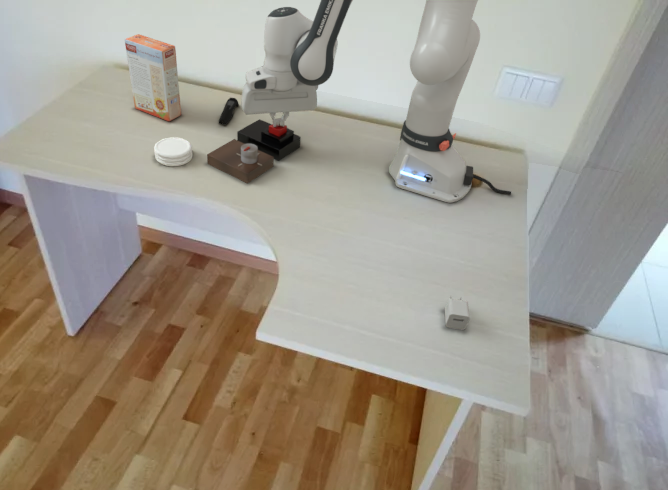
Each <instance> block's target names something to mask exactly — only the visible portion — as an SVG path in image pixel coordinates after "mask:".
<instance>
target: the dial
mask: <svg viewBox="0 0 668 490" xmlns="http://www.w3.org/2000/svg"><path fill="white" fill-rule="evenodd" d="M257 160H258V147H257V146H256V145H254V144H244V145H242V146H241V161H242V162H243V163H246V164H253V163H256V162H257Z"/></svg>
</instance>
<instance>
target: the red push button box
mask: <svg viewBox="0 0 668 490" xmlns="http://www.w3.org/2000/svg"><path fill="white" fill-rule="evenodd" d="M272 124H273V123H270V122H267V121H264V119H263V120H262V119H257V120H256V121H254V122H252V123H250V124H249V125H246V126H245V127H243V128H241V129H240V130H238V131H236V137H237V139H236V140H237V141H240V142H242V143H244V144H254V145H256V146H257V147H258V150H259V151H262V152H264V153H266V154H268V155H270V156H273V157H274V161H277V162H280V161H282V160H284V159H285V158H286V157H288V156H289V155H291V154H293V153H294V152H295V151H297V150H299V149H300V148H301V139H302V136H300V135H297V134H295V131H294V130H293V129H290V128H288V127H287V132H286V133H284V134H283V135H281V136H276V135H274V134H272V133H270V132H269V126H270V125H272Z"/></svg>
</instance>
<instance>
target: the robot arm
mask: <svg viewBox="0 0 668 490" xmlns="http://www.w3.org/2000/svg"><path fill="white" fill-rule="evenodd" d="M353 1H354V0H320V2H319V4H318V7H317V9H316V10H317V11H316V13H315V15H314V18H313V20H311V18H308V17H306V15H304V14H302V13H301V11H300V10H299V9H297V8H296V7H292V6H282V7H278V8H275V9H273V10H272V11H270V13H269V14H268V15H267V17H266V20H265V24H264V35H263V49H264V60H263V65H262V66H261V65H260V66H259V67H257V68H254V69H251V70H248V71H247V72H246V73H245V81H246V82H245V83H244V84H243V87H242V90H241V98H240V99H241V100H240V107H241V110H242V112H243V113H244V114H245V115H247V116H248V115H263V114H269V116H270V118H271V120H272V124H273V126H274V127H284V126H285V125H286V123H285V122H286V121H287V119H288V118H289V116H290V113H294V112H297V113H298V112H309V111H310V112H312V111H314V110H316V108H317V106H318V94H317V90H318V89H319V86H320V85H322V84H325V83H326V82H327V81H328V80H329V79H330V78H331V77H332V74H333V71H334V63H335V59H336V54H337V50H338V37H339V34H340V32H341V30H342V27H343V24H344V21H345V19H346V16H347V15H348V11H349V9H350V7H351V5H352V2H353ZM478 1H479V0H425V5H424V7H423V8H424V9H423V13H422V16H421V20H420V24H419V27H418V32H417V37H416V40H415V44H414V47H413V48H412V49H413V50H412V52H411V54H410V57H409V68H410V69H409V70H410V72H411V74H412V76H413V77H414V79H415V80H416V81H417V82H416V83H415V86H414V88H413V90H412V92H411V96H410V100H409V104H408V109H407V114H406V118H405V119H404V121H403V123H402V128H401V129H400V137H399V144H398V147H397V150H396V152H395V154H394V157H393V159H392V161H391V163H390V165H389V166H388V172H389V174H390V176H391V177H392V178H393V180H394V184H395V187H397V188H398V189H402V190H404V191H409V192H413V193H415V194H419V195H422V196H425V197H427V198H432V199H435V200H438V201H442V202H445V203H449V204H450V203H456V202H458V201H460V200H462V199H463V198H465V196H467V195H468V193H469V192H470V190H471V188H472V184H473V183H472V182H473V179H474V180H477V181H480V182H482V183H484V184H486V185H487V186H488V187H489V188H490V189H491V190H492V191H493V192H495V193H498V194H503V195H509V196H511V194H512V191H510V190H504V189H499V188H497V187H495V186H494V185H493V184H492V183H491V181H490V180H488V179H486V178H484V177H481V176H479V175H476V174H475V173H474V166H471V165H467V163H466V161H465V159H464V158H463V157H462V156H461V154H460V153H459V152H458V151H457V149H456V148H455V147H454V146H453V142H454V140H455V139H456V135H457V132H455V133H454V134H452V132H451V130H450V125H451V122H452V118H453V115H454V112H455V108H456V104H457V102H458V99H459V96H460V94H461V92H462V89H463V87H464V84H465V82H466V80H467V77H468V73H469V72H470V69H471V66H472V64H473V61H474V58H475V56H476V53H477V50H478V47H479V44H480V40H481V31H480V27H479V25H478V24H477V22H475V20H474V19H473V17H474V13H475V10H476V7H477V4H478ZM280 113H281V114H282V116H281V117H279V118H276V116H277V114H280Z"/></svg>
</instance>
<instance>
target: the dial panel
mask: <svg viewBox="0 0 668 490" xmlns="http://www.w3.org/2000/svg"><path fill="white" fill-rule="evenodd" d="M242 145H244V143H242V142H240V141H237V139H235V138H234V139H233V138H232V140H229V141H228V142H226V143H224V144H222V145H221V146H219V147H217V148H215V149H214V150H212V151H210V152H209V153H207V154H206V161H207V162H206V163H207V165H209V166H210V167H213V168H215V169H217V170H219V171H220V172H223V173H225V174H227V175H229V176H230V177H232V178H235V179H237V180H239V181H241V182H243V183H245V184H249V183H251V182H252V181H254V180H255V179H257V178H258V177H260V176H261V175H263V174H264V173H266V172H268V171H269V170H271V169H272V168H273V167H274V163H275V162H274V161H275V159H274V157H273V156H270V155H268V154H266V153H264V152H262V151H259V150H258V160H257V162H256V163H253V164H246V163H243V162H242V161H241V146H242Z"/></svg>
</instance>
